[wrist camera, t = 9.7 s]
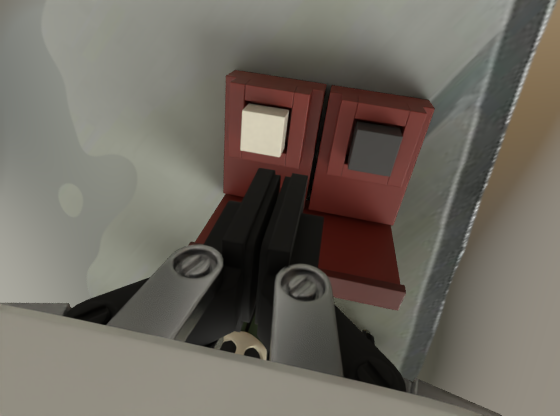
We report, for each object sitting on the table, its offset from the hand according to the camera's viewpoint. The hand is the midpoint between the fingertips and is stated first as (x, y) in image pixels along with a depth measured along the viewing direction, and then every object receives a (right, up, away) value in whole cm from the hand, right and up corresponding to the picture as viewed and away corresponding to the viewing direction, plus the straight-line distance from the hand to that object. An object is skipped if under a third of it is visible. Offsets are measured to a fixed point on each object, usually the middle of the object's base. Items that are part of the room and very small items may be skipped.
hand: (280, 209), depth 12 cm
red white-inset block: (-1, +7, +20) cm, 21 cm away
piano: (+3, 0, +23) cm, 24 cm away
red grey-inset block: (+8, +5, +19) cm, 22 cm away
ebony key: (+7, +5, +15) cm, 17 cm away
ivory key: (-1, +7, +15) cm, 17 cm away
